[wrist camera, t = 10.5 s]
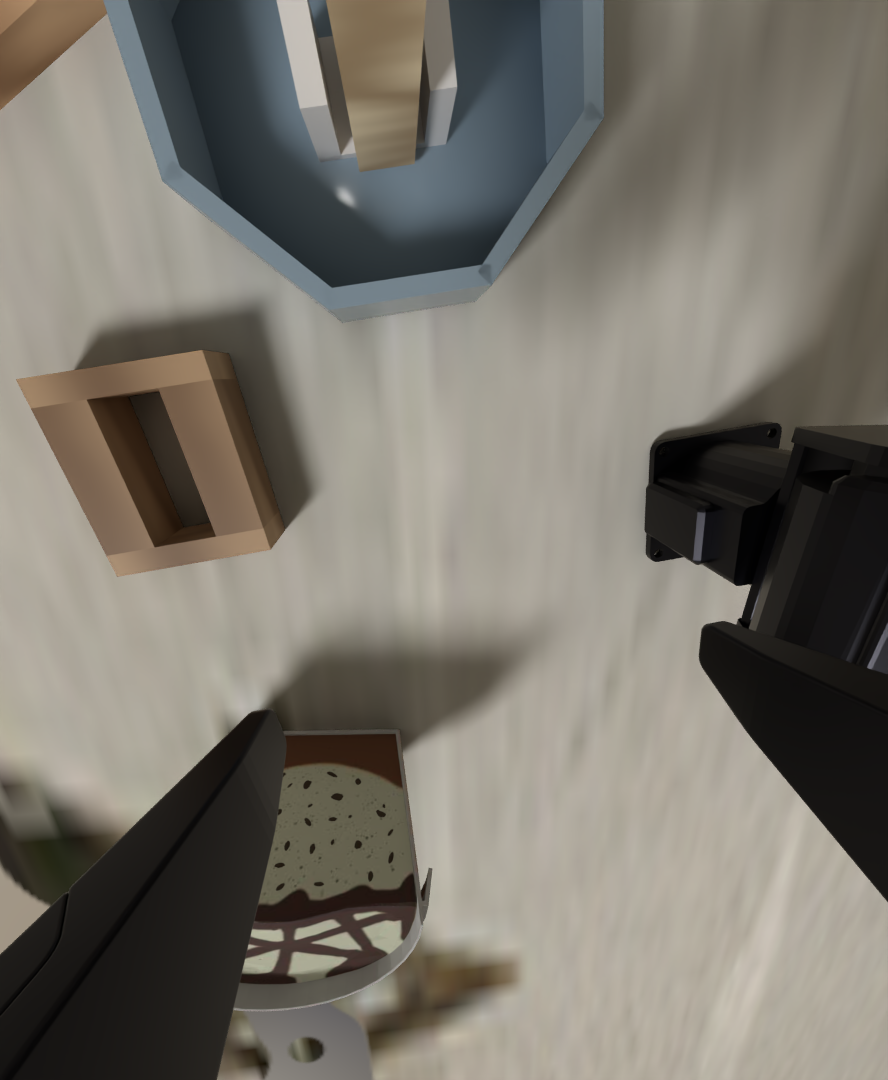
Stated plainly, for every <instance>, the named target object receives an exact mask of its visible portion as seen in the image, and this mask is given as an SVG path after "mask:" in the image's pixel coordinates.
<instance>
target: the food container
mask: <svg viewBox="0 0 888 1080" xmlns="http://www.w3.org/2000/svg"><path fill="white" fill-rule="evenodd" d="M283 732H284V735H285V738H286V744H287V749H286V757H285V765H284V772H283V780H282V787H281V795H280V802H279V810H278V817H277V823H276V830H275V834H274V839H273V844H272V848H271V852H270V857H269V861H268V865H267V869H266V873H265V878H264V882H263V886H262V890H261V895H260V899H259V903H258V907H257V912H256V916H255V920H254V924H253V928H252V933H251V937H250V941H249V945H248V950H247V954H246V958H245V962H244V966H243V971H242V975H241V979H240V983H239V988H238V992H237V996H236V1000H235V1005H234V1009H233V1010H240V1011H277V1010H290V1009H298V1008H305V1007H310V1006H315V1005H319V1004H324V1003H328V1002H331V1001H334V1000H338V999H341V998H344V997H347V996H349V995H352V994H354V993H357V992H359V991H361V990H364V989H366V988H367V987H369V986H371V985H373V984H375V983H377V982H379V981H380V980H382V979H383V978H385V977H386V976H387V975H389V974H390V973H392V972H393V971H394V970H395V969H396V968H397V967H399V966H400V965H401V964H402V963H403V962H404V961H405V960H406V958H407V957H408V956H409V955H410V953H411V952H412V951H413V949H414V948H415V946H416V944H417V942H418V940H419V938H420V935H421V931H422V927H423V921H424V919H425V917H426V913H427V909H428V904H429V895H430V886H431V876H432V868H429V870H428V874H427V878H426V881H425V883H424V885H423V888H422V890H420V882H419V875H418V867H417V860H416V852H415V844H414V837H413V829H412V822H411V814H410V806H409V799H408V791H407V784H406V776H405V769H404V761H403V753H402V746H401V738H400V731H399V729H373V730H305V731H283Z"/></svg>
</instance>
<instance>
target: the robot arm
mask: <svg viewBox="0 0 888 1080" xmlns="http://www.w3.org/2000/svg"><path fill="white" fill-rule="evenodd" d="M769 430H770V433H769V435H768V436H767V432H768V431H769ZM781 432H782V431H781V426H780V425H779V424H778V423H772V422H765V423H759V424H753V425H747V426H742V427H736V428H730V429H724V430H719V431H713V432H707V433H701V434H695V435H690V436H684V437H678V438H672V439H667V440H661V441H658V442H656V443H655V444H653V446H652V447H651V450H650V463H649V484H648V486H647V488H646V507H645V532H646V533H647V535H646V555H647V557H648V558H650V559H651V560H652V561H655V562H659V561H665V560H670V559H676V558H681V557H685V558H686V559H688V560H689V561H691V562H693V563H694V564H696V565H700V564H702V565H704V566H706V567H707V568H709V569H710V570H712V571H714V572H715V573H717V574H718V575H720V576H722V577H723V578H725V579H726V580H728V581H730V582H731V583H733V584H735V585H736V586H742V585H747V584H749V585H751V588H750V591H749V595H748V598H747V601H746V605H745V608H744V611H743V615H742V618H739V619H738V621H737V624H736V625H735V624H732V623H729V622H726V621H720V622H715V623H710V624H706V625H704V626H703V628H702V631H701V639H700V649H699V661H700V664H701V666H702V668H703V670H704V671H705V672H706V674H707V675H708V677H709V678H710V680H711V681H712V683H713V684H714V686H715V687H716V688H717V690H718V691H719V693H720V694H721V696H722V697H723V699H724V700H725V701H726V703H727V704H728V706H729V707H730V709H731V710H732V712H733V713H734V715H735V716H736V717H737V719H738V720H739V722H740V723H741V725H742V726H743V727H744V729H745V730H746V731H747V733H748V734H749V735H750V737H751V738H752V739H753V740H754V742H755V743H756V744H757V745H758V747H759V748H760V749H761V750H762V751H763V753H764V754H765V755H766V756H767V757H768V759H769V760H770V761H771V762H772V764H773V765H774V766H775V767H776V768H777V770H778V771H779V772H780V773H781V774H782V776H783V777H784V778H785V779H786V780H787V782H788V783H789V784H790V785H791V786H792V788H793V789H794V790H795V791H796V792H797V794H798V795H799V796H800V797H801V798H802V800H803V801H804V802H805V803H806V804H807V806H808V807H809V808H810V809H811V810H812V812H813V813H814V814H815V815H816V816H817V818H818V819H819V820H820V821H821V822H822V824H823V825H824V826H825V827H826V828H827V830H828V831H829V832H830V833H831V834H832V836H833V837H834V838H835V839H836V840H837V842H838V843H839V844H840V845H841V847H842V848H843V849H844V850H845V851H846V853H847V854H848V855H849V856H850V857H851V859H852V860H853V861H854V862H855V863H856V865H857V866H858V867H859V868H860V869H861V871H862V872H863V873H864V874H865V875H866V877H867V878H868V879H869V880H870V881H871V883H872V884H873V885H874V886H875V887H876V889H877V890H878V891H879V892H880V893H881V895H882V896H883V897H884V898H885V899H886V901H887V902H888V425H856V426H809V427H796V428H795V431H794V435H793V438H792V441H791V442H793V443H794V447H793V450H792V451H788V450H783V449H779V444H780V438H781ZM663 447H664V449H665V450H664V453H663V454H662V455H660V454H659V452H660V450H661V449H662V448H663ZM658 549H659V552H658V553H657V554H655V555H654V553H655V551H656V550H658ZM286 749H287V744H286V738H285V735H284V732H283V730H282V727H281V725H280V723H279V720H278V718H277V715H276V713H275V711H274V710H273V709H270V708H268V709H263V710H257V711H253V712H251V713H249V714H248V715H247V716H246V717H245V718H244V719H243V720H242V721H241V722H240V723H239V724H238V725H237V726H236V727H235V728H234V729H233V730H232V731H231V732H230V733H229V734H228V735H226V736H225V737H224V738H223V739H222V740H221V741H220V742H219V743H218V744H217V745H216V746H215V747H214V748H213V749H212V750H211V751H210V752H209V753H208V754H207V755H206V756H205V757H204V758H203V759H202V760H201V761H200V762H199V763H198V764H197V765H196V766H195V767H194V768H193V769H192V770H190V771H189V772H188V773H187V774H186V775H185V776H184V777H183V778H182V779H181V780H180V781H179V782H178V783H177V784H176V785H175V786H174V787H173V788H172V789H171V790H170V791H169V792H168V793H167V794H166V795H165V796H164V797H163V798H162V799H161V800H160V801H159V802H158V803H157V804H156V805H154V806H153V807H152V808H151V809H150V810H149V811H148V812H147V813H146V814H145V815H144V816H143V817H142V818H141V819H140V820H139V821H138V822H137V823H136V824H135V825H134V826H133V827H132V828H131V829H130V830H129V831H128V832H127V833H126V834H125V835H124V836H123V837H122V838H121V839H120V840H118V841H117V842H116V843H115V844H114V845H113V846H112V847H111V848H110V849H109V850H108V851H107V852H106V853H105V854H104V855H103V856H102V857H101V858H100V859H99V860H98V861H97V862H96V863H95V864H94V865H93V866H92V867H91V868H90V869H89V870H88V871H87V872H86V873H85V874H83V875H82V876H81V877H80V878H79V879H78V880H77V881H76V882H75V883H74V884H73V885H72V886H71V887H70V889H69V893H64V894H63V895H62V896H61V897H60V898H59V899H58V900H57V901H56V902H55V903H54V904H52V905H51V906H50V907H49V908H48V909H47V910H46V911H45V912H44V913H43V914H42V915H41V916H40V917H39V918H38V919H37V920H36V921H35V922H34V923H33V924H32V925H31V926H30V927H29V928H28V929H27V930H25V932H23V933H22V934H21V935H20V936H19V937H18V938H17V939H16V940H15V941H14V942H13V943H12V944H11V945H10V946H9V947H8V948H7V949H6V950H4V951H3V952H2V953H1V954H0V1080H217V1076H218V1072H219V1068H220V1064H221V1059H222V1055H223V1051H224V1047H225V1043H226V1038H227V1034H228V1030H229V1026H230V1021H231V1017H232V1013H233V1009H234V1005H235V1000H236V996H237V992H238V988H239V983H240V979H241V975H242V971H243V966H244V962H245V958H246V954H247V950H248V945H249V941H250V937H251V933H252V928H253V924H254V920H255V916H256V912H257V907H258V903H259V899H260V895H261V890H262V886H263V882H264V878H265V873H266V869H267V865H268V861H269V857H270V852H271V848H272V844H273V839H274V834H275V830H276V823H277V817H278V810H279V802H280V795H281V787H282V780H283V772H284V765H285V757H286Z"/></svg>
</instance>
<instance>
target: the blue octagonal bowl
mask: <svg viewBox="0 0 888 1080" xmlns="http://www.w3.org/2000/svg"><path fill="white" fill-rule="evenodd" d="M103 1H104V4H105V7H106V10H107V13H108V17H109V20H110V23H111V26H112V29H113V32H114V35H115V38H116V41H117V44H118V47H119V50H120V53H121V56H122V59H123V62H124V65H125V68H126V71H127V74H128V77H129V80H130V83H131V86H132V89H133V93H134V96H135V99H136V102H137V105H138V108H139V111H140V114H141V117H142V120H143V123H144V126H145V129H146V132H147V135H148V138H149V141H150V144H151V147H152V150H153V153H154V156H155V159H156V162H157V166H158V169H159V172H160V175H161V178H162V181H163V182H164V183H165V184H166V185H168V186H169V187H170V188H171V189H173V190H174V191H175V192H176V193H177V194H179V195H180V196H181V197H182V198H183V199H185V200H186V201H187V202H188V203H190V204H191V205H192V206H193V207H194V208H196V209H197V210H198V211H199V212H200V213H202V214H203V215H204V216H205V217H207V218H208V219H209V220H210V221H211V222H213V223H214V224H216V225H217V226H218V227H220V228H221V229H222V230H224V231H225V232H226V233H227V234H229V235H230V236H231V237H233V238H234V239H235V240H236V241H238V242H239V243H240V244H242V245H243V246H244V247H245V248H247V249H248V250H249V251H251V252H252V253H253V254H254V255H256V256H257V257H258V258H260V259H261V260H262V261H264V262H265V263H266V264H267V265H269V266H270V267H271V268H273V269H274V270H275V271H276V272H278V273H279V274H280V275H282V276H283V277H284V278H285V279H287V280H288V281H289V282H291V283H292V284H293V285H295V286H296V287H297V288H298V289H300V290H301V291H302V292H304V293H305V294H306V295H307V296H309V297H310V298H311V299H313V300H314V301H315V302H316V303H318V304H319V305H320V306H322V307H323V308H324V309H325V310H327V311H328V312H329V313H331V314H332V315H333V316H335V317H336V318H337V319H338V320H340V321H341V322H342V323H343V322H349V321H355V320H362V319H368V318H374V317H381V316H387V315H393V314H400V313H406V312H412V311H419V310H425V309H431V308H438V307H444V306H450V305H457V304H463V303H469V302H475V301H476V300H477V299H478V298H479V297H480V296H481V295H482V294H483V293H484V292H485V291H486V290H487V289H488V288H489V287H490V286H491V285H492V284H493V282H494V281H495V279H496V278H497V276H498V275H499V273H500V272H501V270H502V269H503V267H504V266H505V264H506V263H507V261H508V260H509V258H510V257H511V255H512V254H513V252H514V251H515V249H516V248H517V246H518V245H519V243H520V242H521V240H522V239H523V237H524V236H525V234H526V233H527V231H528V230H529V228H530V227H531V225H532V224H533V222H534V221H535V219H536V218H537V217H538V215H539V214H540V212H541V211H542V209H543V208H544V206H545V205H546V203H547V202H548V200H549V199H550V197H551V196H552V194H553V193H554V191H555V190H556V188H557V187H558V185H559V184H560V182H561V181H562V179H563V178H564V176H565V175H566V173H567V172H568V170H569V169H570V167H571V166H572V164H573V163H574V161H575V160H576V158H577V157H578V155H579V154H580V152H581V151H582V149H583V148H584V147H585V145H586V144H587V142H588V141H589V139H590V138H591V136H592V135H593V133H594V132H595V130H596V129H597V127H598V126H599V124H600V123H601V121H602V120H603V119H604V0H426V10H425V24H424V38H423V52H422V67H421V81H420V95H419V109H418V123H417V137H416V151H415V164H411V165H404V166H398V167H391V168H384V169H377V170H371V171H364V172H359V167H358V162H357V156H356V151H355V146H354V141H353V136H352V131H351V126H350V121H349V116H348V110H347V105H346V100H345V95H344V90H343V85H342V80H341V75H340V70H339V64H338V59H337V54H336V49H335V44H334V39H333V34H332V29H331V24H330V18H329V13H328V8H327V3H326V0H103Z"/></svg>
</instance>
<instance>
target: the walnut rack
mask: <svg viewBox="0 0 888 1080" xmlns="http://www.w3.org/2000/svg"><path fill="white" fill-rule="evenodd" d="M16 380H17V382H18V384H19V386H20V388H21V390H22V392H23V394H24V396H25V398H26V400H27V402H28V404H29V406H30V408H31V410H32V412H33V413H34V415H35V417H36V419H37V421H38V423H39V425H40V427H41V429H42V431H43V433H44V435H45V437H46V439H47V441H48V443H49V445H50V447H51V449H52V450H53V452H54V454H55V456H56V458H57V460H58V462H59V464H60V466H61V468H62V470H63V472H64V474H65V476H66V478H67V480H68V482H69V484H70V486H71V487H72V489H73V491H74V493H75V495H76V497H77V499H78V501H79V503H80V505H81V507H82V509H83V511H84V513H85V515H86V517H87V519H88V521H89V523H90V525H91V526H92V528H93V530H94V532H95V534H96V536H97V538H98V540H99V542H100V544H101V546H102V548H103V550H104V552H105V554H106V556H107V558H108V560H109V562H110V563H111V565H112V567H113V569H114V571H115V573H116V575H117V577H119V576H125V575H130V574H136V573H141V572H147V571H153V570H158V569H164V568H170V567H175V566H181V565H187V564H192V563H198V562H204V561H209V560H215V559H221V558H226V557H232V556H238V555H243V554H249V553H254V552H260V551H266V550H271V548H272V547H273V546H274V544H275V543H276V542H277V540H278V539H279V538H280V536H281V535H282V534H283V532H284V531H285V527H284V524H283V521H282V518H281V515H280V512H279V509H278V506H277V502H276V499H275V496H274V493H273V490H272V487H271V484H270V481H269V477H268V474H267V471H266V468H265V465H264V462H263V459H262V456H261V453H260V449H259V446H258V443H257V440H256V437H255V434H254V431H253V428H252V425H251V421H250V418H249V415H248V412H247V409H246V406H245V403H244V400H243V396H242V393H241V390H240V387H239V384H238V381H237V378H236V375H235V372H234V368H233V365H232V362H231V359H230V356H229V354H228V353H221V352H214V351H206V350H199V351H193V352H186V353H180V354H174V355H167V356H161V357H155V358H148V359H142V360H136V361H129V362H123V363H117V364H111V365H104V366H98V367H92V368H85V369H79V370H73V371H66V372H60V373H54V374H47V375H41V376H35V377H28V378H22V379H16ZM153 392H160V395H161V397H162V400H163V402H164V405H165V407H166V410H167V412H168V415H169V418H170V420H171V423H172V425H173V428H174V430H175V433H176V435H177V438H178V440H179V443H180V446H181V448H182V451H183V453H184V456H185V458H186V461H187V463H188V466H189V469H190V471H191V474H192V476H193V479H194V481H195V484H196V486H197V489H198V491H199V494H200V497H201V499H202V502H203V504H204V507H205V509H206V512H207V514H208V517H209V519H210V522H211V523H206V524H200V525H194V526H189V527H183V525H182V523H181V521H180V518H179V516H178V514H177V511H176V509H175V507H174V504H173V502H172V499H171V497H170V495H169V492H168V490H167V488H166V485H165V483H164V480H163V478H162V476H161V473H160V471H159V469H158V466H157V464H156V461H155V459H154V457H153V454H152V452H151V450H150V447H149V445H148V443H147V440H146V438H145V435H144V433H143V431H142V428H141V426H140V424H139V421H138V419H137V416H136V414H135V412H134V409H133V407H132V405H131V402H130V400H129V398H128V396H134V395H140V394H146V393H153Z"/></svg>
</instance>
